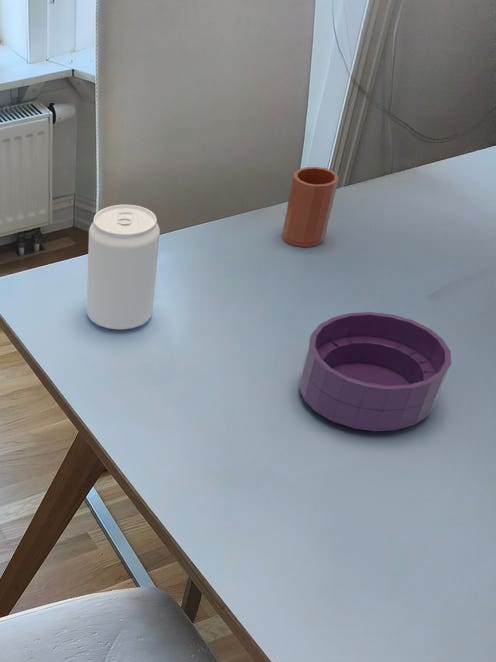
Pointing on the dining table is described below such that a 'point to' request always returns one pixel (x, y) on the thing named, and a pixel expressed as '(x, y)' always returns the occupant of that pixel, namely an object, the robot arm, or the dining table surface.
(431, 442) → the dining table surface
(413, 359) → the bowl
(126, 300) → the beverage can
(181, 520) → the dining table surface
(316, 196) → the cup
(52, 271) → the dining table surface
